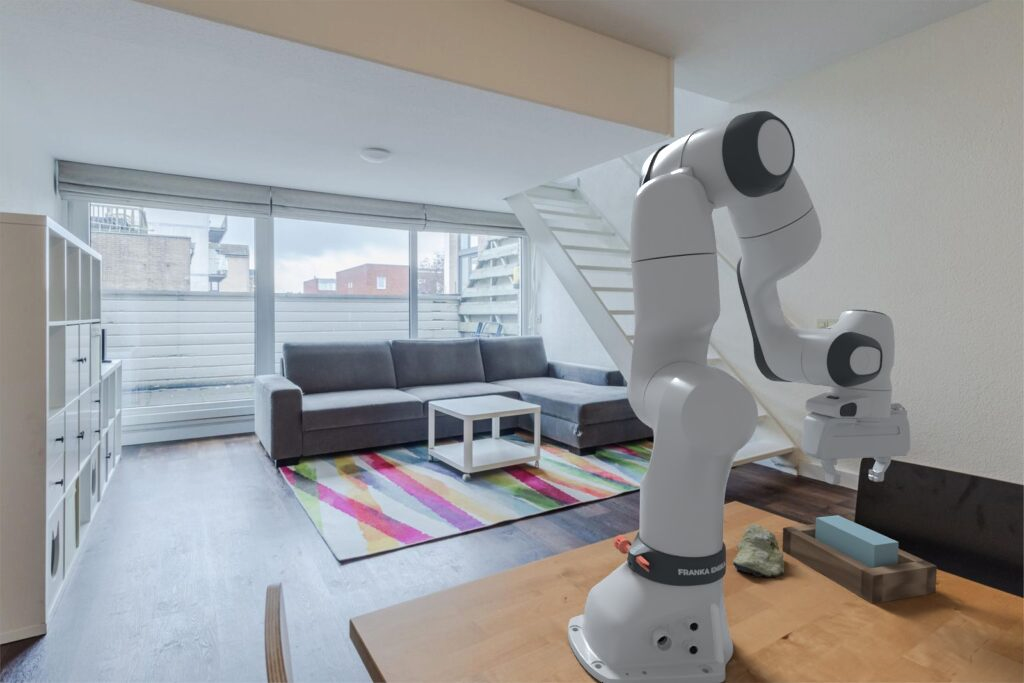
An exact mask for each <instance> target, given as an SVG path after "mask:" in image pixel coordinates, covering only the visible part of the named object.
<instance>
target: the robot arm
mask: <svg viewBox="0 0 1024 683" xmlns="http://www.w3.org/2000/svg"><path fill="white" fill-rule="evenodd" d="M795 157H796V147H795V140H794V137H793V135H792V132H791V130H790V128H789V127H788V124H786V122H785V121H784V120H783V119H781V118H780V117H778V116H777V115H775V114H774V113H772V112H771V111H767V110H759V111H751V112H746V113H742V114H741V113H740V114H738V115H736V116H735V117H734V118H732V119H728V120H725V121H721V122H719V123H716V124H712V125H710V126H707V127H703V128H697V129H696V130H693V131H692V132H690V133H687V134H686V135H683V136H682V137H679V138H678V139H676V140H675V141H672V142H670V143H668V144H664V145H662V146H660V147H659V148H658V149H657V150H655V151H654V152H652V153H651V154H650V155H649V156H648V157H647V158H646V159H645V161H644V163H643V165H642V168H641V170H640V175H639V181H638V182H639V183H638V184H639V189H638V190H637V192H636V193H635V195H634V199H633V203H632V210H631V221H630V262H631V264H630V265H631V266H630V267H631V277H632V278H631V279H632V291H633V293H632V294H633V304H634V305H633V306H634V334H633V344H632V354H631V365H630V375H629V377H628V380H627V383H626V396H627V400H628V402H629V405H630V407H631V409H632V411H633V412H634V414H635V416H636V417H637V418H638V420H640V421H641V422H642V423H643V424H644V425H646V426H648V428H650V429H651V430H652V432H653V445H652V449H651V450H652V451H651V454H650V459H649V464H648V466H647V470H646V472H645V473H644V474H643V475H642V477H641V480H640V485H639V529H638V532H637V534H636V536H635V537H634V540H633V542H631V541H630V540H628V539H627V538H626V536H625V535H623V534H619V535H617V536H616V537H615V538H614V540H613V546H614V547H615V548H616V549H617V550H618V551H619V553H621V554H625V555H627V557H626V561H624V562H623V563H622V564H621V565H619V566H618V567H617V568H615V569H614V570H613V571H611V573H609V574H608V575H607V576H606V577H604V578H603V579H602V580H601V581H599V582H598V583H596V584H595V585H594V586H593V587H591V589H590V590H589V592H588V595H587V597H586V601H585V606H584V612H583V613H582V614H580V615H576V616H574V617H570V619H569V622H568V625H567V638H568V642H569V646H570V647H571V649H572V651H573V654H574V655H575V657H576V658H577V660H578V662H579V663H580V664H581V666H583V668H584V669H585V670H586V671H587V672H588V673H589V674H590V675H591V676H592V677H594V678H595V679H596V680H597V681H599V682H601V683H602V682H603V683H723V682H724V681H725V680H726V676H727V675H726V674H727V673H726V667H727V664H728V662H729V661H730V660H731V659H732V657H733V654H734V645H733V641H732V637H731V632H730V629H729V624H728V620H727V619H728V618H727V614H726V606H725V605H726V604H725V594H724V577H725V575H726V573H727V545H726V543H725V542H724V520H725V519H724V517H725V499H726V498H725V495H726V488H727V483H728V480H729V476H730V472H731V470H732V466H733V464H734V460H735V458H736V455H737V453H738V452H739V451H740V450H741V449H742V448H743V447H745V446H746V445H747V444H748V442H750V440H751V439H752V437H753V435H754V434H755V431H756V429H757V425H758V422H759V421H758V419H759V412H758V404H757V402H756V400H755V397H754V396H753V394H752V392H751V391H750V390H749V388H747V386H745V385H744V384H743V383H742V382H741V381H739V380H738V379H737V378H735V377H734V376H733V375H731V374H730V373H728V372H727V371H725V370H723V369H720V368H718V367H715V366H714V367H713V366H709V365H708V350H709V346H710V339H711V337H712V332H713V329H714V326H715V325H716V323H717V321H718V320H719V318H720V315H721V300H720V299H721V298H720V281H719V266H718V252H717V241H716V240H717V239H716V234H715V233H716V232H715V226H714V221H713V215H712V214H713V211H714V210H716V209H721V208H723V207H725V208H726V209H727V211H728V213H729V214H728V215H729V217H730V221H731V223H732V227H733V229H734V231H735V234H736V236H737V238H738V241H739V242H738V243H739V245H740V251H741V257H740V258H739V259H738V262H737V265H736V277H737V283H738V289H739V292H740V296H741V300H742V304H743V308H744V312H745V315H746V320H747V322H748V326H749V329H750V334H751V336H752V337H751V338H752V343H753V345H752V346H753V356H754V362H755V365H756V366H757V369H758V370H759V372H760V373H761V375H763V377H765V378H766V379H767V380H769V381H771V382H781V383H783V382H784V383H798V384H806V385H812V386H824V387H830V388H831V389H830V390H827V391H825V392H823V393H821V394H818V395H816V396H814V397H811V398H807V400H806V401H805V410H806V411H807V412H810V413H808V414H806V416H805V418H804V422H803V426H802V434H801V435H802V436H801V450H802V451H803V453H804V454H805V456H807V457H810V458H813V459H816V460H819V461H820V465H821V467H822V469H823V470H824V473H825V478H824V481H825V482H826V483H828V484H830V485H837V484H838V485H839V484H840V483H841V477H842V474H841V473H837V470H836V467H835V466H837V465H838V460H843V459H845V460H846V459H865V458H867V459H868V458H870V459H871V458H873V459H874V460H875V462H874V463H873V467H872V468H870V469H868V475H867V476H868V479H869V480H870V481H872V482H876V483H877V482H883V481H884V480H885V472H886V471H887V469H888V468H889V466H890V464H891V462H892V457H905V456H908V454H909V452H910V450H911V428H910V427H911V426H910V422H909V418H908V411H907V410H906V409H905V407H904V406H902V404H901V403H899V402H898V403H897V402H894V403H893V402H892V396H893V394H892V392H893V385H892V381H891V373H892V370H893V368H894V364H895V352H896V351H895V346H896V345H895V341H896V339H895V330H894V323H893V320H892V318H891V317H890V316H889V315H887V314H886V313H883V312H880V311H876V310H867V309H848V310H843V311H842V312H841V313H840V316H839V318H838V321H837V322H835V323H834V324H832V325H830V326H827V327H826V328H811V327H810V328H804V327H797V326H793V325H792V324H790V323H788V322H787V321H786V320H785V318H784V314H783V309H782V306H781V301H780V297H779V293H778V288H777V286H778V281H780V280H782V279H784V278H787V277H788V276H791V274H793V273H795V272H797V271H798V270H800V269H801V268H802V267H804V266H805V265H806V264H807V263H809V261H810V260H811V259H812V258H813V257H814V255H815V253H816V252H817V250H818V249H819V247H820V244H821V239H822V226H821V222H820V219H819V216H818V214H817V211H816V208H815V206H814V204H813V201H812V199H811V195H810V193H809V191H808V189H807V187H806V184H805V183H804V181H803V179H802V177H801V175H800V174H799V172H798V170H797V169H796V167H795V165H794V163H795Z"/></svg>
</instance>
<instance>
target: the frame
mask: <svg viewBox="0 0 1024 683" xmlns="http://www.w3.org/2000/svg"><path fill="white" fill-rule="evenodd" d="M815 532H816V523H813V524H812V523H811V524H803V525H797V526H787V527H782V548H781V549H782V552H784V553H785V554H787V555H789V556H790V557H792V558H794V559H795V560H797V561H799V562H801V563H803V564H804V565H806V566H807V567H809V568H810V569H813V570H814V571H816V572H818V573H819V574H820V575H823V576H824V577H826V578H827V579H830V580H831V581H833V582H834V583H836V584H838V585H839V586H841V587H843V588H845V589H847V590H848V591H850V592H851V593H854V594H855V595H857V596H859V597H860V598H861V599H863V600H865V601H867V602H869V603H870V604H876V603H878V604H879V603H883V602H887V601H889V602H890V601H895V600H902V599H907V598H912V597H918V596H925V595H929V594H930V595H931V594H936V590H937V588H936V587H937V570H938V566H937V565H935V564H934V563H932V562H930V561H927V560H925V559H923V558H920V557H918V556H916V555H913V554H912V553H909V552H907V551H905V550H903V549H901V548H898V564H897V565H890V566H883V567H876V568H871V567H869V566H867V565H865V564H863V563H861V562H859V561H857V560H855V559H853V558H852V557H850V556H848V555H846V554H844V553H842V552H840V551H838V550H836V549H834V548H832V547H830V546H828V545H826V544H825V543H823V542H821V541H819V540H817V539H815Z"/></svg>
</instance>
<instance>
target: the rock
mask: <svg viewBox="0 0 1024 683" xmlns="http://www.w3.org/2000/svg"><path fill="white" fill-rule="evenodd" d="M736 548H737V550H738V552H737V554H736V555H735V558H733V559H732V561H733V562H732V565H734V568H736V569H737V570H739V571H741V572H744V573H749V574H750V575H751V576H755V577H761V578H762V577H765V578H777V577H778V576H781V575H783V574H784V573H785V560H784V553H783V551H782V552H781V550H780V547H779V542H778V541H777V538H776V536H775V533H774V532H771V531H770V530H769V529H768V528H766V527H762V526H761V525H759V524H753V523H752V524H749V525H748V526H747V527H746V528H745V530H744V534H743V535H742V538H741V539H740V541H738V542H737V543H736Z"/></svg>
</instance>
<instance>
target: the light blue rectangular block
mask: <svg viewBox="0 0 1024 683" xmlns="http://www.w3.org/2000/svg"><path fill="white" fill-rule="evenodd" d="M815 524H816V532H815V539H817V540H819V541H821V542H823V543H825V544H826V545H828V546H830V547H832V548H834V549H836V550H838V551H840V552H842V553H844V554H846V555H847V556H849V557H851V558H853V559H855V560H857V561H859V562H861V563H863V564H865V565H867V566H869V567H871V568H876V567H883V566H890V565H897V564H898V549H899V541H897V540H895V539H892V538H890V537H888V536H886V535H884V534H881V533H879V532H877V531H875V530H872V529H870V528H867V527H866V526H863V525H861V524H858V523H856V522H854V521H852V520H849V519H847V518H846V517H843V516H841V515H838V514H836V515H829V516H819V517H815Z"/></svg>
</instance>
